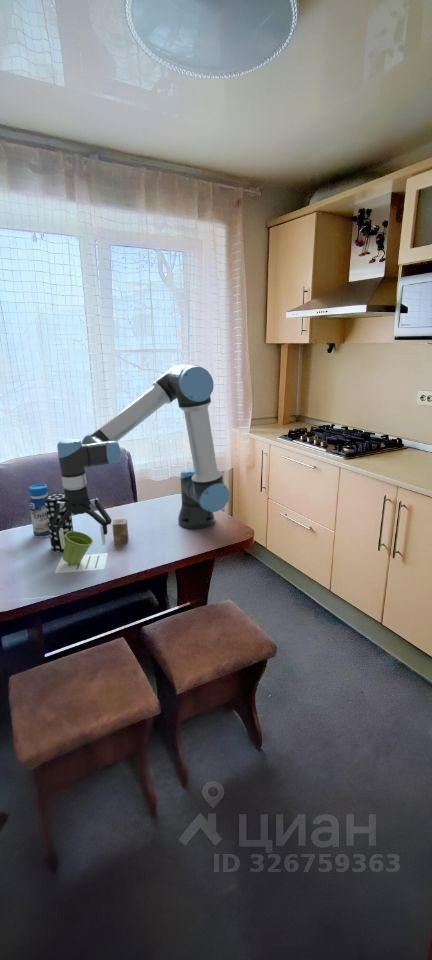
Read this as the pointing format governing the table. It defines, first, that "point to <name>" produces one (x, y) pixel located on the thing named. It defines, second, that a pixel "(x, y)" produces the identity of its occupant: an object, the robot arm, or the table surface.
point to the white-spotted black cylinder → (50, 510)
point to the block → (120, 531)
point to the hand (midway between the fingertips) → (83, 545)
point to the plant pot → (76, 546)
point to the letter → (83, 564)
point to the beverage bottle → (39, 510)
